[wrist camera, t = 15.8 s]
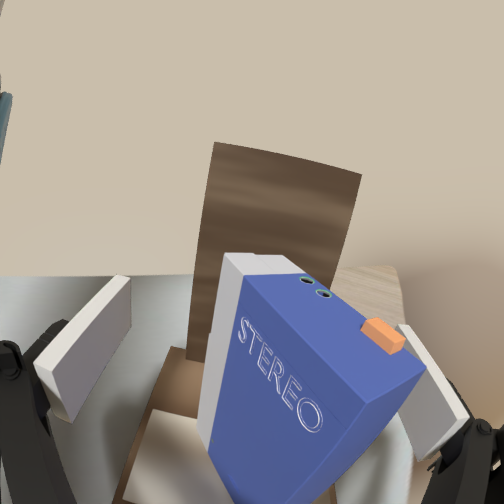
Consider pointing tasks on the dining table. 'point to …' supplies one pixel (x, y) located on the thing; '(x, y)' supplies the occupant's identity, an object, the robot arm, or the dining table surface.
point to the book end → (204, 299)
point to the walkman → (293, 382)
